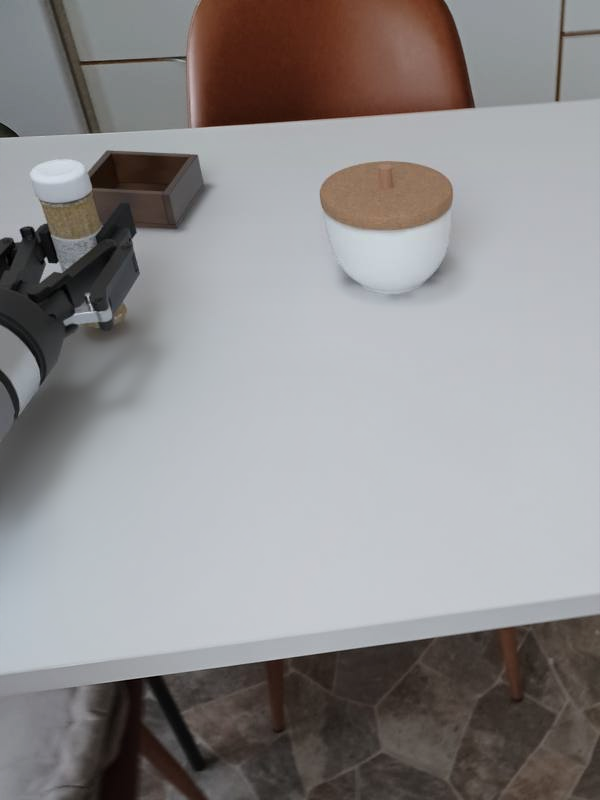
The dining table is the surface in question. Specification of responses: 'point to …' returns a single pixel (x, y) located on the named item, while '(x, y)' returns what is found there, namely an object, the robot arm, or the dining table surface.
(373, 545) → the dining table surface
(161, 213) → the box
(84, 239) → the brown spice jar
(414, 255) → the lidded bowl
